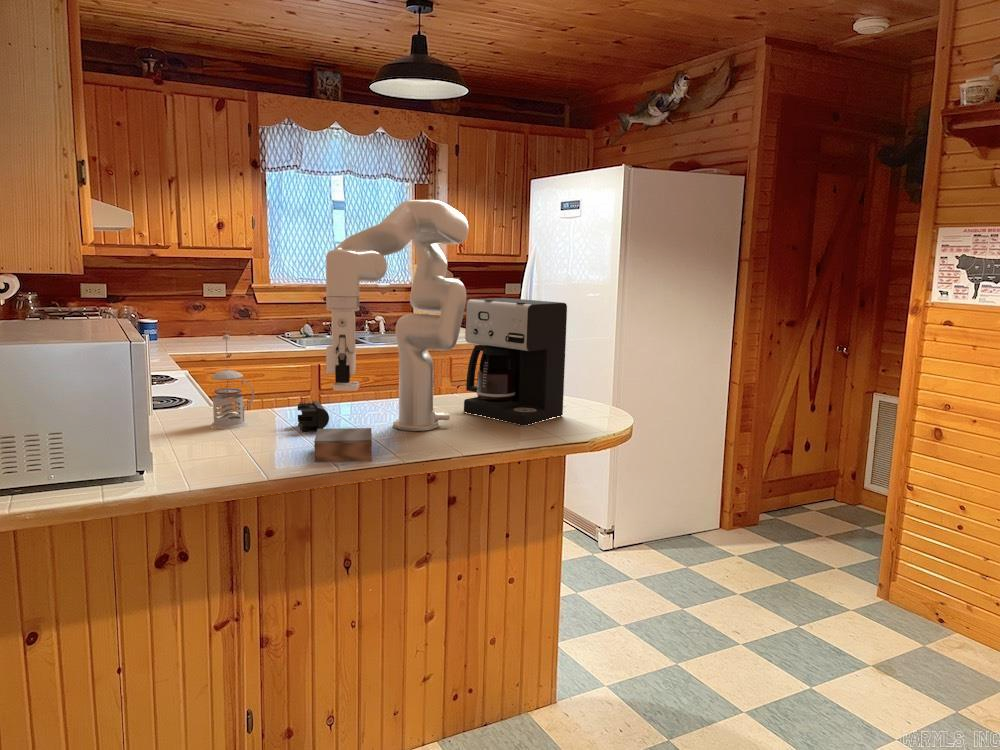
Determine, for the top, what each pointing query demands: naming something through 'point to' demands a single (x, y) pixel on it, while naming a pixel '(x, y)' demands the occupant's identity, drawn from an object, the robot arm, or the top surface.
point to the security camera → (331, 369)
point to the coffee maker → (516, 358)
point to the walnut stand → (343, 445)
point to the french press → (229, 400)
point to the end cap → (312, 417)
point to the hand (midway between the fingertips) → (343, 379)
